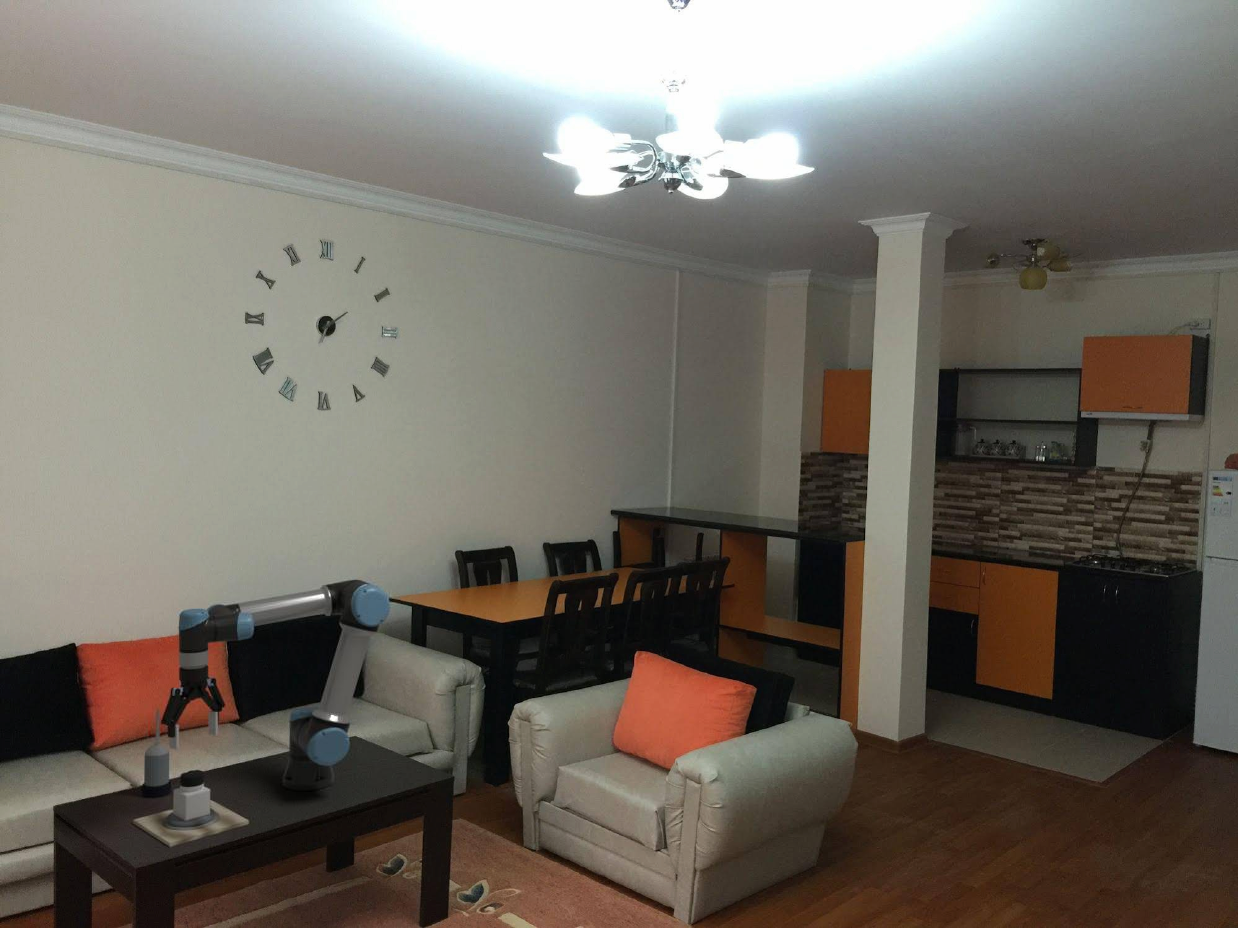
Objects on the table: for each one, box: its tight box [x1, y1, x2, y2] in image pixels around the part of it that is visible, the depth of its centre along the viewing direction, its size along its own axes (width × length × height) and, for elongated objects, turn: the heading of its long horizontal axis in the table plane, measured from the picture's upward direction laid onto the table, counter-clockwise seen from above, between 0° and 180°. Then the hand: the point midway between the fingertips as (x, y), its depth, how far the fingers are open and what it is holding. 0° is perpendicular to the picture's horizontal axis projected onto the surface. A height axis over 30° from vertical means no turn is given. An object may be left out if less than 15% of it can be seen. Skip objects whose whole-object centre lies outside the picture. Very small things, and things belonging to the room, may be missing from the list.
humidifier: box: [141, 709, 172, 799], centre depth 305 cm, size 8×8×25 cm
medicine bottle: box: [172, 769, 211, 821], centre depth 283 cm, size 7×7×12 cm
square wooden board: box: [132, 799, 250, 848], centre depth 283 cm, size 22×22×2 cm
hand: (194, 741), depth 285 cm, fingers open, 13 cm apart
